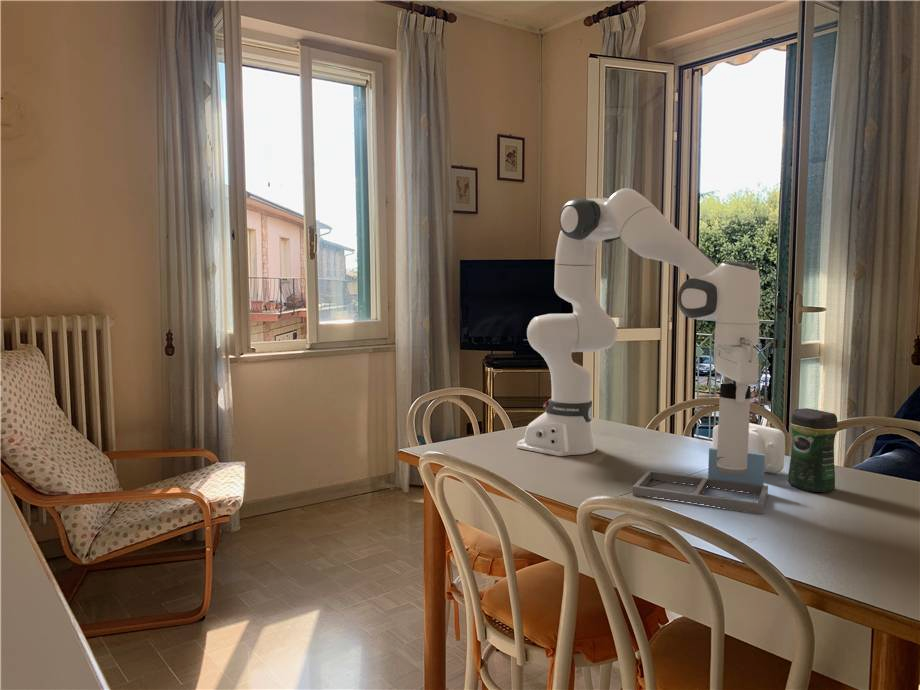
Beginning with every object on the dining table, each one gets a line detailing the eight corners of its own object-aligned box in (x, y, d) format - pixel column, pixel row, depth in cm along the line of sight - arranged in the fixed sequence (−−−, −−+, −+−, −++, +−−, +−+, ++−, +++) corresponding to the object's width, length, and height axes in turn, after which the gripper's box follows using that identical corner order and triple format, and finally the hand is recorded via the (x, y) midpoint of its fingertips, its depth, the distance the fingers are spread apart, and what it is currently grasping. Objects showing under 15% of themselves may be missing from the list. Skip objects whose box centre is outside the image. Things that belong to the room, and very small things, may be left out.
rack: (632, 495, 157) (633, 456, 156) (649, 476, 171) (650, 441, 170) (761, 514, 144) (763, 472, 143) (768, 493, 158) (769, 454, 157)
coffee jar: (841, 491, 159) (845, 412, 158) (817, 495, 156) (821, 414, 154) (805, 480, 168) (808, 404, 166) (781, 484, 165) (785, 407, 163)
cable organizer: (708, 466, 180) (709, 422, 179) (736, 461, 185) (737, 418, 184) (756, 481, 167) (759, 434, 166) (785, 475, 172) (787, 429, 171)
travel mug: (713, 472, 152) (716, 382, 150) (720, 465, 157) (723, 379, 155) (743, 477, 148) (747, 385, 146) (749, 470, 154) (753, 381, 152)
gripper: (768, 340, 140) (765, 408, 141) (737, 332, 160) (735, 391, 161) (736, 340, 140) (733, 407, 141) (709, 332, 160) (707, 391, 162)
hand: (734, 399), depth 151 cm, fingers closed on travel mug, 6 cm apart
